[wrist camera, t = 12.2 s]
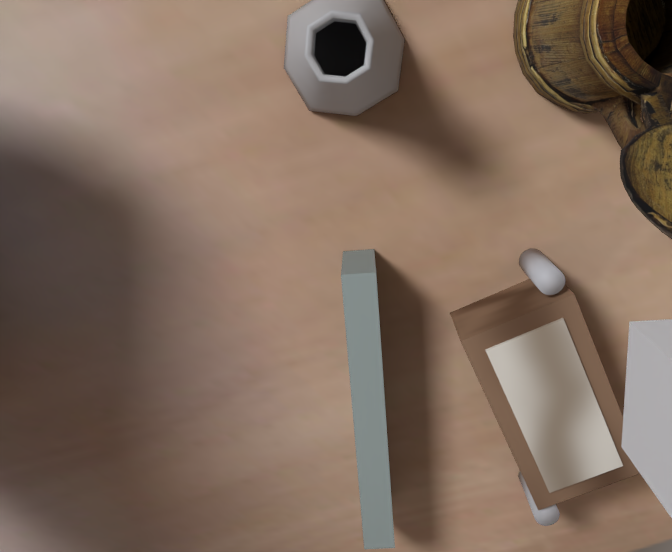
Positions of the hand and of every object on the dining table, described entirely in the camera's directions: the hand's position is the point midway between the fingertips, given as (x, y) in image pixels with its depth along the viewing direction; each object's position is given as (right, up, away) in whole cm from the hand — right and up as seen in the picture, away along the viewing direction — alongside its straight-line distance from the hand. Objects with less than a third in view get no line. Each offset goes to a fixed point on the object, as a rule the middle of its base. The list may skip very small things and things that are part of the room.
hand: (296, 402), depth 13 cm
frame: (+14, -4, +31) cm, 34 cm away
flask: (+1, +16, +25) cm, 30 cm away
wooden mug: (+15, +15, +25) cm, 33 cm away
